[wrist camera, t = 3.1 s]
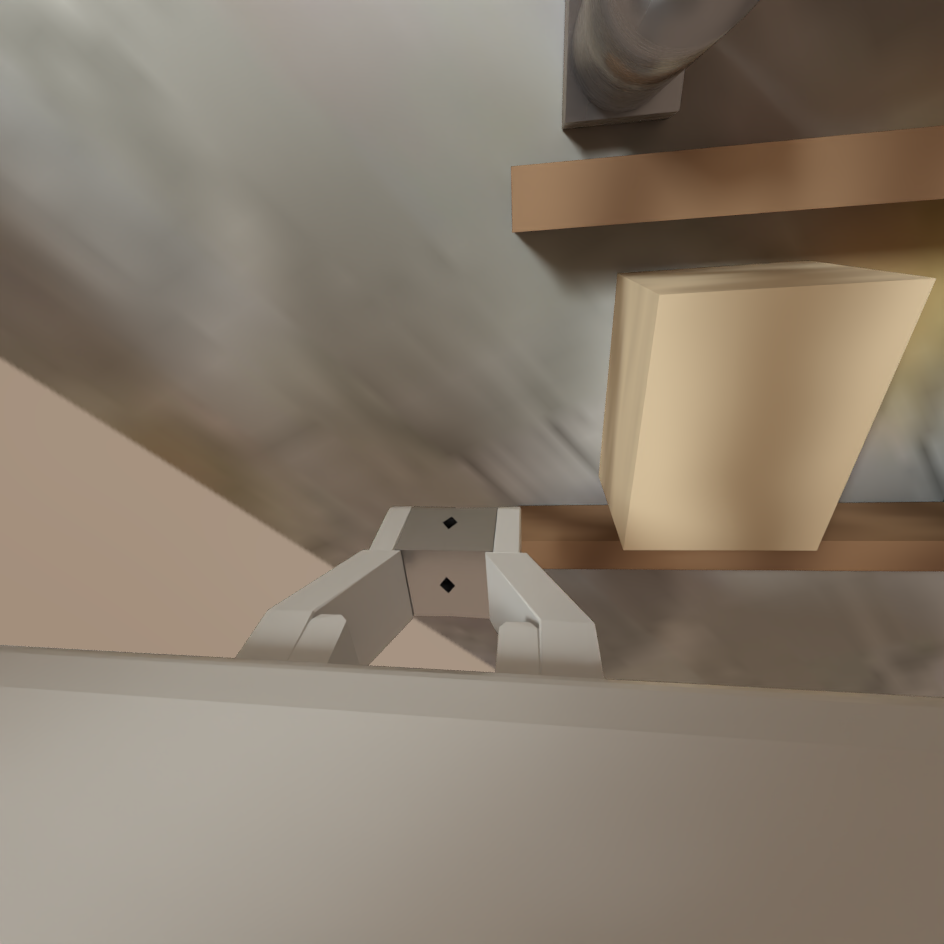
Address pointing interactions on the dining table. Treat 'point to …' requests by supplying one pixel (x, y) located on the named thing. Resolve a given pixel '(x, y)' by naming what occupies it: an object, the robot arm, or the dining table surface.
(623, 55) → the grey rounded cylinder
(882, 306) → the tan tapered block
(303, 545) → the dining table surface
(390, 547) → the robot arm
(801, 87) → the dining table surface
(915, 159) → the bay
